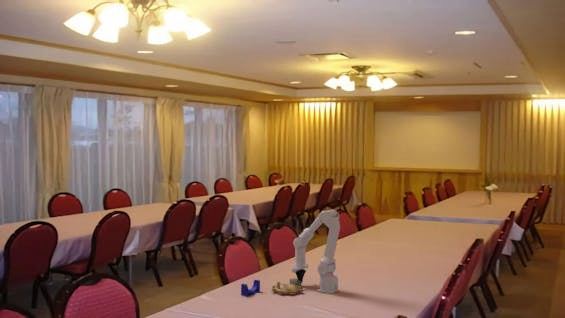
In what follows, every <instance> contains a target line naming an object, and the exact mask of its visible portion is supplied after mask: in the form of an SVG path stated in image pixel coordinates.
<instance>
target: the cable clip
mask: <svg viewBox="0 0 565 318" xmlns="http://www.w3.org/2000/svg"><path fill="white" fill-rule="evenodd" d="M248 286H249V285H248V284H247V283H241V284H240V287H241V288H240V295H241V296H243V297H250V296H253V295H256V293H259V292H260V291H261V280H259V279H253V285H252V286H251V288H250V289H249V287H248Z"/></svg>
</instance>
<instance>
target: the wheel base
mask: <svg viewBox="0 0 565 318" xmlns="http://www.w3.org/2000/svg"><path fill="white" fill-rule="evenodd" d="M275 294H278V293H277V292H275ZM297 294H299V292H298V293H294V294H291V295H297ZM283 295H284V296H291V295H290V294H283Z"/></svg>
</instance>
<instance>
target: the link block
mask: <svg viewBox="0 0 565 318" xmlns="http://www.w3.org/2000/svg"><path fill="white" fill-rule="evenodd" d="M289 284H296V285H297V286H302V283H301V281H300V280H298V278H297V277H295V278H289Z"/></svg>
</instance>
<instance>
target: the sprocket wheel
mask: <svg viewBox="0 0 565 318" xmlns="http://www.w3.org/2000/svg"><path fill="white" fill-rule="evenodd" d="M303 288H304V287H303V286H302V285H301V286H297V285H296V284H290V283H289V284H288V283H287V284H286V283H281V281H276V285H275V284H274V285H272V287H271V292H272V293H276V292H277V293H276V294H278V295H282V294H290V295H289V296H291V294H293V295H295V294H294V293H297V294H299V293H300V294H301V293H303ZM298 292H299V293H298Z"/></svg>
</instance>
